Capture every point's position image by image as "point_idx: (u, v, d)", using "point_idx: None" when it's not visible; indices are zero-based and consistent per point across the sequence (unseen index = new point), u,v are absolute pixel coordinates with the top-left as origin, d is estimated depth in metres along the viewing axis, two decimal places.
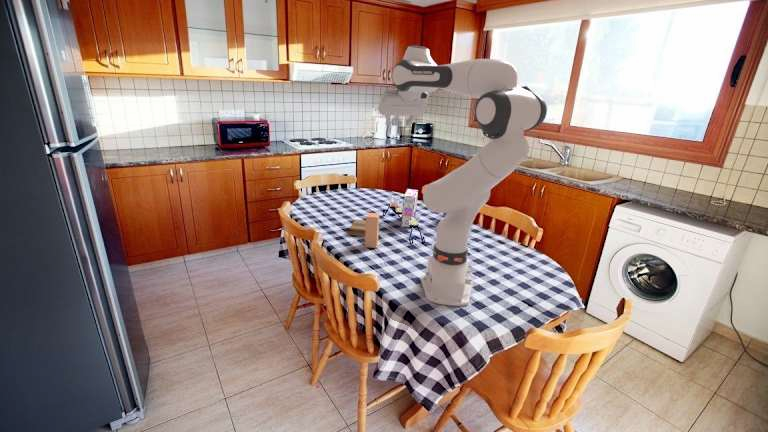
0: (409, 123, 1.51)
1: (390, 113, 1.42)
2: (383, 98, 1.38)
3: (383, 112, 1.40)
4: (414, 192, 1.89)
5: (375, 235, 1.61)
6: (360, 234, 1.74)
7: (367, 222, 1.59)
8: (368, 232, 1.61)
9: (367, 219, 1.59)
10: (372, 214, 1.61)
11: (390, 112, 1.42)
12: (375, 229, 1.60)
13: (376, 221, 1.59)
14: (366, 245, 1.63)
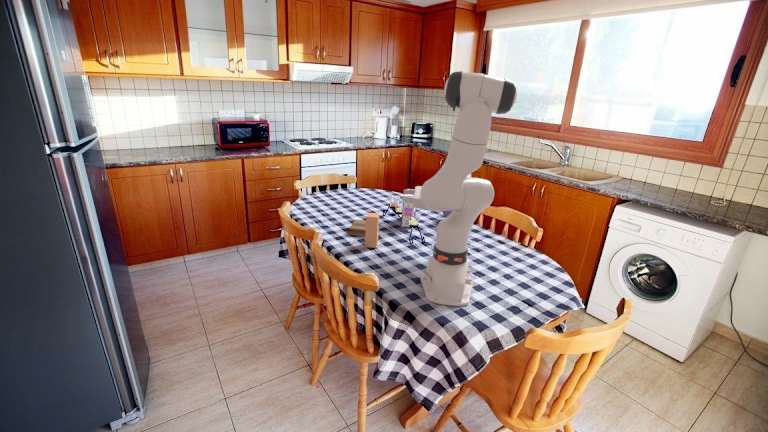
0: (404, 196, 1.51)
1: (417, 187, 1.60)
2: None
3: (418, 186, 1.63)
4: None
5: (375, 235, 1.61)
6: (360, 234, 1.74)
7: (367, 222, 1.59)
8: (368, 232, 1.61)
9: (367, 219, 1.59)
10: (372, 214, 1.61)
11: (418, 187, 1.61)
12: (375, 229, 1.60)
13: (376, 221, 1.59)
14: (366, 245, 1.63)
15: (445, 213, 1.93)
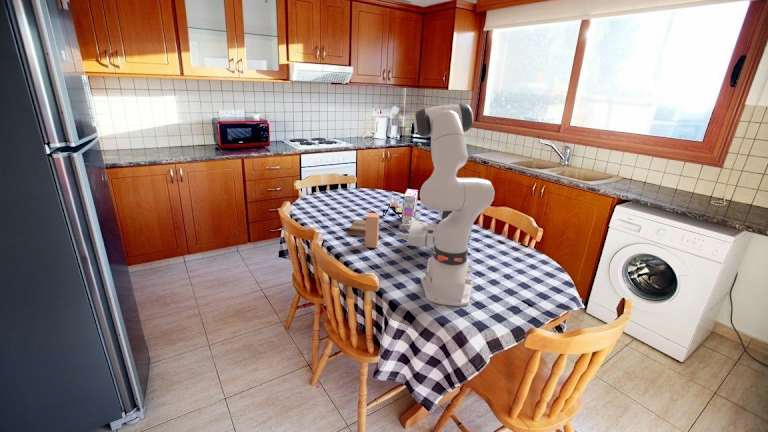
0: (399, 233, 1.57)
1: (412, 223, 1.66)
2: None
3: None
4: (414, 192, 1.89)
5: (375, 235, 1.61)
6: (360, 234, 1.74)
7: (367, 222, 1.59)
8: (368, 232, 1.61)
9: (367, 219, 1.59)
10: (372, 214, 1.61)
11: (413, 222, 1.66)
12: (375, 229, 1.60)
13: (376, 221, 1.59)
14: (366, 245, 1.63)
15: None
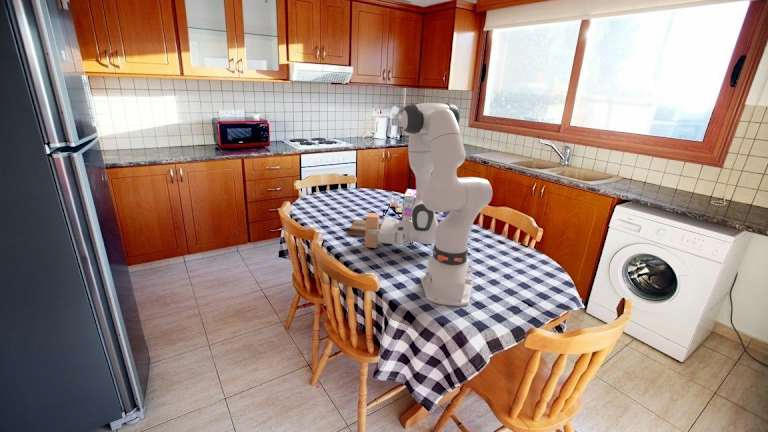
0: (371, 228, 1.59)
1: (385, 220, 1.67)
2: None
3: (386, 218, 1.70)
4: (414, 192, 1.89)
5: (375, 235, 1.61)
6: (360, 234, 1.74)
7: (367, 222, 1.59)
8: (368, 232, 1.61)
9: (367, 219, 1.59)
10: (372, 214, 1.61)
11: (386, 220, 1.67)
12: (375, 229, 1.60)
13: (376, 221, 1.59)
14: (366, 245, 1.63)
15: (445, 213, 1.93)
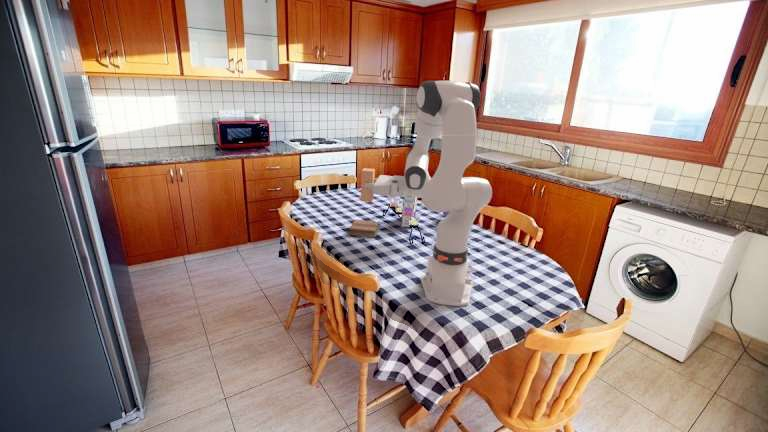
0: (367, 182, 1.65)
1: (380, 176, 1.73)
2: None
3: (382, 175, 1.76)
4: None
5: (370, 189, 1.66)
6: (360, 234, 1.74)
7: (363, 176, 1.65)
8: (363, 186, 1.66)
9: (363, 173, 1.64)
10: (368, 169, 1.67)
11: (381, 176, 1.73)
12: None
13: (372, 175, 1.64)
14: (362, 199, 1.68)
15: (445, 213, 1.93)
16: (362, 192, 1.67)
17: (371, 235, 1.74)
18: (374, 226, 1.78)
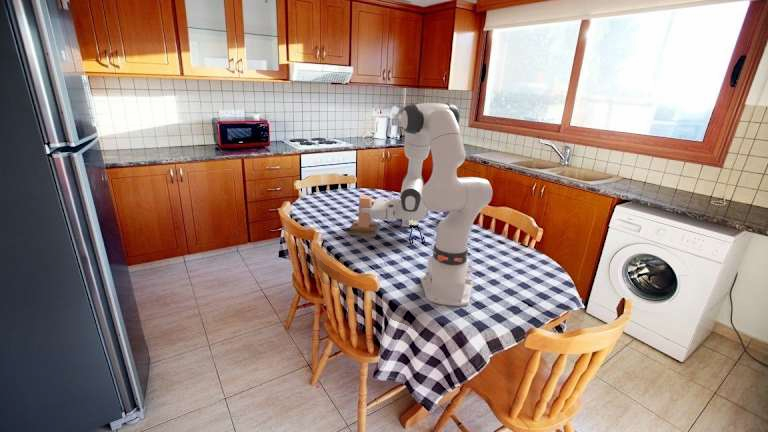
0: (363, 207, 1.71)
1: (377, 200, 1.80)
2: None
3: (378, 198, 1.83)
4: None
5: (368, 216, 1.74)
6: (360, 234, 1.74)
7: (360, 203, 1.73)
8: (361, 213, 1.74)
9: (360, 201, 1.72)
10: (365, 196, 1.75)
11: (378, 199, 1.81)
12: None
13: (369, 202, 1.72)
14: (359, 225, 1.76)
15: (445, 213, 1.93)
16: (360, 218, 1.75)
17: (371, 235, 1.74)
18: (374, 226, 1.78)
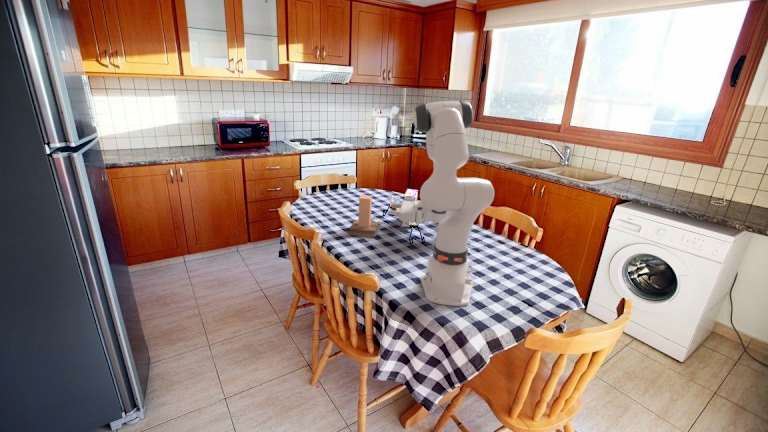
0: (392, 210, 1.70)
1: (404, 202, 1.79)
2: None
3: (405, 200, 1.82)
4: (414, 192, 1.89)
5: (368, 216, 1.74)
6: (360, 234, 1.74)
7: (360, 203, 1.73)
8: (361, 213, 1.74)
9: (360, 201, 1.72)
10: (365, 196, 1.75)
11: (405, 202, 1.79)
12: (367, 210, 1.73)
13: (369, 202, 1.72)
14: (359, 225, 1.76)
15: None
16: (360, 218, 1.75)
17: (371, 235, 1.74)
18: (374, 226, 1.78)
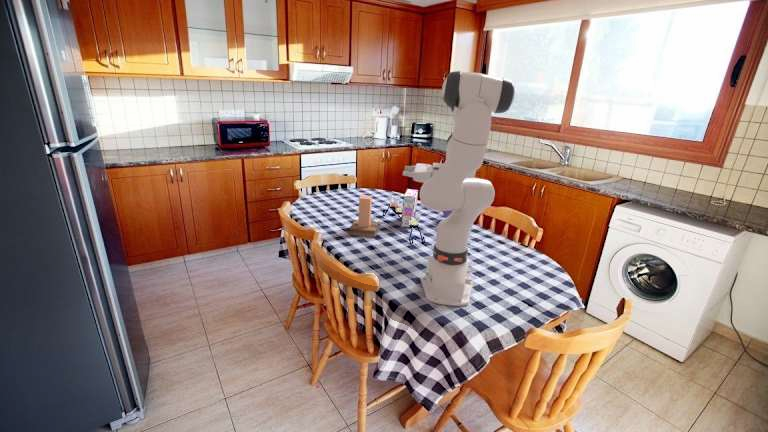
0: (405, 171, 1.58)
1: (417, 164, 1.67)
2: None
3: (418, 163, 1.70)
4: (414, 192, 1.89)
5: (368, 216, 1.74)
6: (360, 234, 1.74)
7: (360, 203, 1.73)
8: (361, 213, 1.74)
9: (360, 201, 1.72)
10: (365, 196, 1.75)
11: (418, 164, 1.67)
12: (367, 210, 1.73)
13: (369, 202, 1.72)
14: (359, 225, 1.76)
15: (445, 213, 1.93)
16: (360, 218, 1.75)
17: (371, 235, 1.74)
18: (374, 226, 1.78)
